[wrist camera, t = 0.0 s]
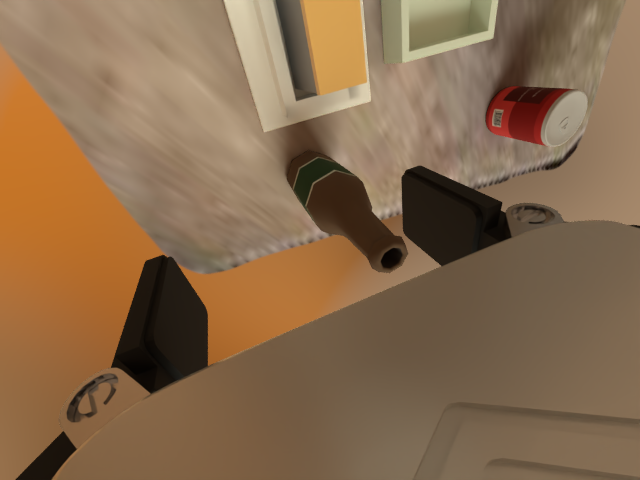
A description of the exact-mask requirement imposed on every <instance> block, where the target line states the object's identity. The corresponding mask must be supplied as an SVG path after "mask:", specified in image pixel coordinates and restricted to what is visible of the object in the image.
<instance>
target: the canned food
mask: <svg viewBox="0 0 640 480" xmlns="http://www.w3.org/2000/svg"><path fill="white" fill-rule="evenodd" d="M587 104H588V100H587V96H586V94H585V92H584V91H581V90H577V89H562V88H541V87H520V86H512V87H508V88H505V89H503V90H501V91H500V92H499V93H498V94H497V95H496V96H495V97H494V98H493V100H492V101H491V103H490V105H489V107H488V110H487V114H486V125H487V127H488V129H489V130H490V131H491V132H493V133H494V134H496V135H501V136H505V137H509V138H514V139H518V140H522V141H527V142H531V143H535V144H540V145H545V146H551V147H557V146H560V145H562V144H564V143H565V142H566V141H568V140H569V139H570V138H571V137H572V136H573V135H574V133H575V132H576V131H577V129H578V128H579V126H580V125H581V123H582V121H583V119H584V117H585V114H586V110H587Z"/></svg>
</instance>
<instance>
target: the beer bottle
mask: <svg viewBox="0 0 640 480" xmlns="http://www.w3.org/2000/svg"><path fill="white" fill-rule="evenodd" d="M287 181H288V182H289V184H290V186H291V188H292V189H293V191H294V193H295V195H296V196H297V198H298V200H299V201H300V203H301V204H302V205H303V207H304V208H305V210H306V211H307V212H308V214H309V215H310V217H311V218H312V220H313V221H314V222H315V224H316V225H317V226H318V227H319V228H320V230H321V231H323V232H326V233H329V234H335V235H342V236H345V237H346V238H348V239H349V240H350V241H351V242H352V243H353V244H354V245H355V246H356V247H357V248H358V249H359V250H360V251H361V252H362V253H363V254H364V255H365V256H366V257H367V258H368V260H369V263H370V265H371V267H372V268H373V269H375V270H376V271H378V272H386V273H390V272H392V271H393V270H395V269H397V268H399V267H400V266H402V264H403V262H404V260H405V259H406V257H407V255H408V252H407V249H406V245H405V243H404V241H403V239H402V237H400V236H394V235H393V233H392V232H391V231H390V230H389V229H388V228H387V227H386V226H385V225H384V224H383V223H382V222H381V221H380V220H379V219H378V218H377V217H376V216H375V215H374V213H373V212H372V206H371V203H370V200H369V197H368V195H367V192H366V190H365V187H364V184H363V182H362V181H361V180H360V179H359V178H358V177H357V176H355V175H354V174H352V173H351V172H350V171H348V170H347V169H345V168H344V167H343V166H341V165H340V164H338V163H337V162H336V161H334V160H333V159H331V158H330V157H328V156H326V155H323V154H319V153H316V152H312V151H307V152H305V153H304V154H302V155H300V156H299V157H297V158H295V159H294V160H292V162H291V166H290V169H289V173H288V176H287Z"/></svg>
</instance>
